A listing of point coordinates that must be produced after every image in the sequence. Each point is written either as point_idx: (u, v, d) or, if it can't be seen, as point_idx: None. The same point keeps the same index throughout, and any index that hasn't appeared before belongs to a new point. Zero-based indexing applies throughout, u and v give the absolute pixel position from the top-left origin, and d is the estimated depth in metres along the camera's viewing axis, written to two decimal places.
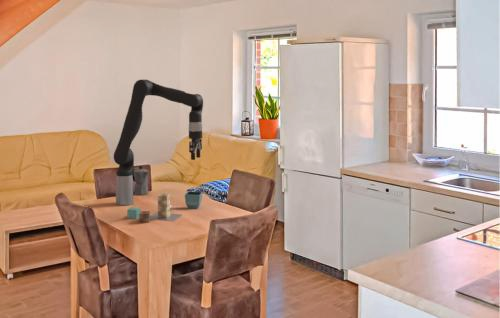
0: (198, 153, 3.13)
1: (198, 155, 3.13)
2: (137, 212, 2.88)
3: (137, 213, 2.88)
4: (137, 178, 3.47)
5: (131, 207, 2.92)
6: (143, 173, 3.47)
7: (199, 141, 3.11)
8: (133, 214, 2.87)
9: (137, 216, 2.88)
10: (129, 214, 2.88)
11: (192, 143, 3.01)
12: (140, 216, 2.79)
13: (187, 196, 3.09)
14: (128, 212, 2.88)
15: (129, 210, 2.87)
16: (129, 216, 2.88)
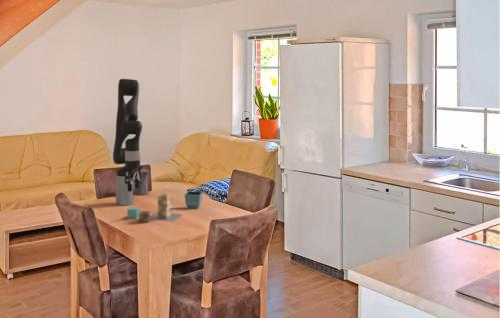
0: (137, 183, 2.91)
1: (137, 185, 2.91)
2: (137, 212, 2.88)
3: (137, 213, 2.88)
4: None
5: (131, 207, 2.92)
6: (143, 173, 3.47)
7: (137, 171, 2.89)
8: (133, 213, 2.87)
9: (137, 216, 2.88)
10: (129, 214, 2.88)
11: (128, 174, 2.80)
12: (140, 216, 2.79)
13: (187, 196, 3.09)
14: (128, 212, 2.88)
15: (129, 210, 2.87)
16: (129, 216, 2.88)
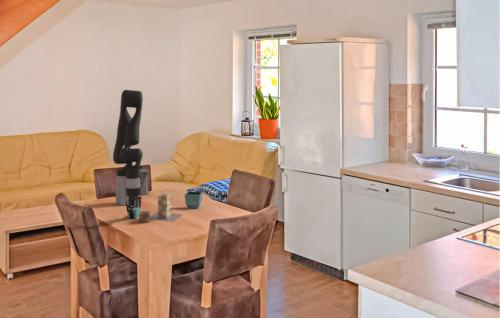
0: None
1: None
2: (137, 212, 2.88)
3: (137, 213, 2.88)
4: None
5: None
6: (143, 173, 3.47)
7: (138, 197, 2.92)
8: None
9: (137, 216, 2.88)
10: None
11: (129, 203, 2.82)
12: (140, 216, 2.79)
13: (187, 196, 3.09)
14: (128, 212, 2.88)
15: None
16: None
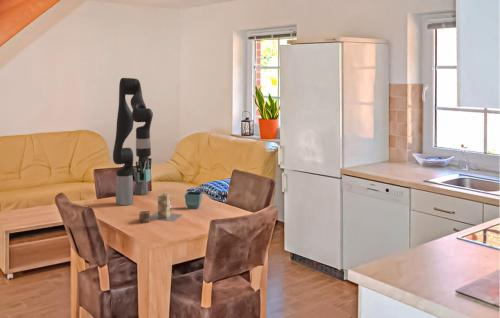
0: None
1: None
2: (147, 173, 2.85)
3: (147, 174, 2.85)
4: (137, 178, 3.47)
5: None
6: None
7: (148, 159, 2.88)
8: None
9: (147, 177, 2.85)
10: (139, 175, 2.85)
11: (139, 163, 2.79)
12: (140, 216, 2.79)
13: (187, 196, 3.09)
14: (138, 173, 2.85)
15: None
16: (139, 177, 2.85)
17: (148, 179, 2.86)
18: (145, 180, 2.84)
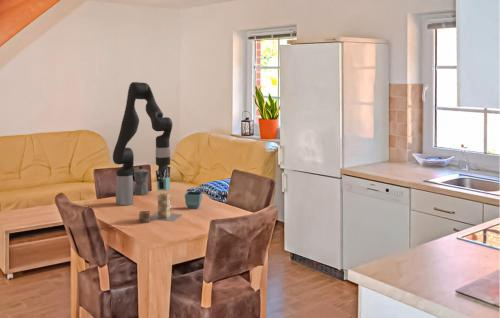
0: None
1: None
2: (166, 182, 2.86)
3: (167, 183, 2.87)
4: (137, 178, 3.47)
5: None
6: (143, 173, 3.47)
7: (167, 167, 2.90)
8: None
9: (167, 186, 2.87)
10: None
11: (159, 172, 2.81)
12: (140, 216, 2.79)
13: (187, 196, 3.09)
14: None
15: None
16: None
17: (167, 187, 2.88)
18: (165, 189, 2.86)
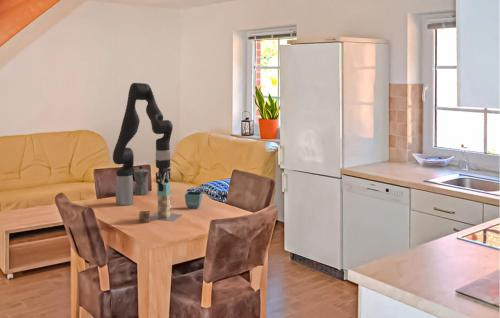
0: None
1: None
2: (167, 187, 2.87)
3: (167, 188, 2.87)
4: (137, 178, 3.47)
5: None
6: (143, 173, 3.47)
7: (167, 170, 2.90)
8: (163, 188, 2.86)
9: (167, 191, 2.88)
10: None
11: (159, 174, 2.81)
12: (140, 216, 2.79)
13: (187, 196, 3.09)
14: (158, 187, 2.87)
15: None
16: (159, 191, 2.87)
17: (168, 193, 2.88)
18: (165, 194, 2.86)
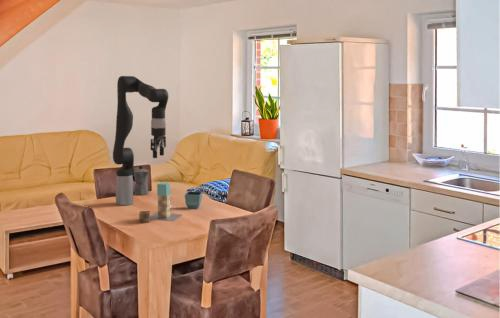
0: (161, 151, 2.97)
1: (161, 153, 2.97)
2: (167, 187, 2.87)
3: (167, 188, 2.87)
4: (137, 178, 3.47)
5: (161, 182, 2.91)
6: (143, 173, 3.47)
7: (162, 138, 2.95)
8: (163, 188, 2.86)
9: (167, 191, 2.88)
10: (159, 189, 2.87)
11: (154, 140, 2.86)
12: (140, 216, 2.79)
13: (187, 196, 3.09)
14: (158, 187, 2.87)
15: (159, 185, 2.87)
16: (159, 191, 2.87)
17: (168, 193, 2.88)
18: (165, 194, 2.86)
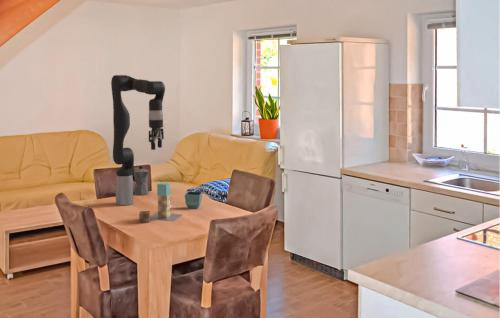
0: (159, 143, 3.01)
1: (159, 145, 3.01)
2: (167, 187, 2.87)
3: (167, 188, 2.87)
4: (137, 178, 3.47)
5: (161, 182, 2.91)
6: (143, 173, 3.47)
7: (160, 130, 2.99)
8: (163, 188, 2.86)
9: (167, 191, 2.88)
10: (159, 189, 2.87)
11: (152, 132, 2.89)
12: (140, 216, 2.79)
13: (187, 196, 3.09)
14: (158, 187, 2.87)
15: (159, 185, 2.87)
16: (159, 191, 2.87)
17: (168, 193, 2.88)
18: (165, 194, 2.86)
